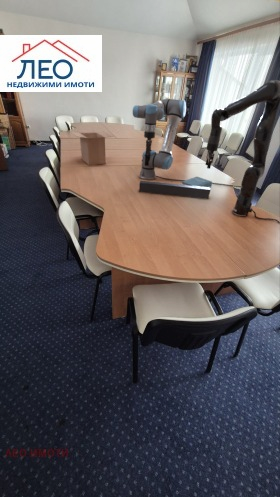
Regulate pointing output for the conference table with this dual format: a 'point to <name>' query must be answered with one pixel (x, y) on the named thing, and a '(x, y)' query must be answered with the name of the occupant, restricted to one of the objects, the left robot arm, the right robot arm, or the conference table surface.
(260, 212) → the conference table surface
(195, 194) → the bar
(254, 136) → the right robot arm
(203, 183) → the book
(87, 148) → the box
